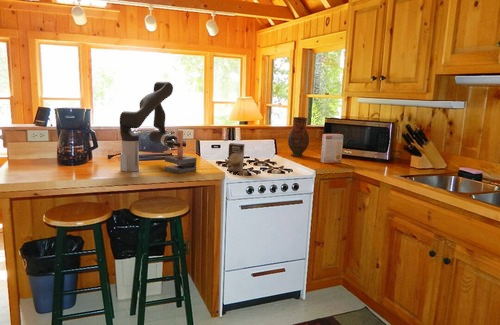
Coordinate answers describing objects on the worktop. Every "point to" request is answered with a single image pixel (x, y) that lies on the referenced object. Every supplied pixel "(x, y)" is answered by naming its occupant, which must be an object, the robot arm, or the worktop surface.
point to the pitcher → (298, 137)
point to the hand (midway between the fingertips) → (182, 145)
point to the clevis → (186, 166)
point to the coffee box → (235, 157)
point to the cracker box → (331, 148)
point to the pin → (180, 149)
